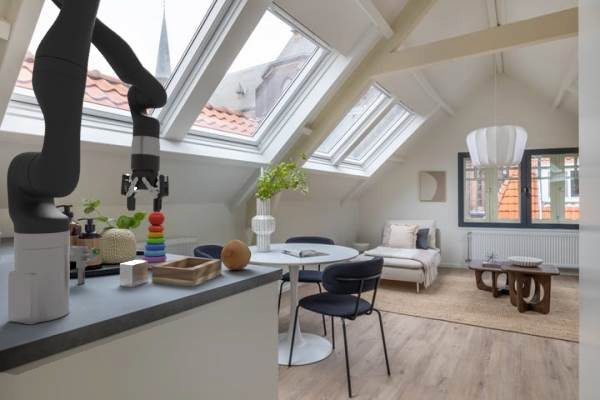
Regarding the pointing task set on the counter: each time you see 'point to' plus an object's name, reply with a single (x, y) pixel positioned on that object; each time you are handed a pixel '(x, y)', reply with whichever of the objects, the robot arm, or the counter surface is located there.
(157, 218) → the stacking toy
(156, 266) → the brown wooden tray
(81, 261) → the mechanical component
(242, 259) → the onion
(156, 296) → the counter surface
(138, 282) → the white block
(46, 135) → the robot arm
